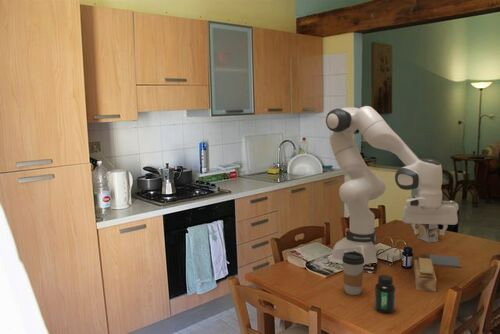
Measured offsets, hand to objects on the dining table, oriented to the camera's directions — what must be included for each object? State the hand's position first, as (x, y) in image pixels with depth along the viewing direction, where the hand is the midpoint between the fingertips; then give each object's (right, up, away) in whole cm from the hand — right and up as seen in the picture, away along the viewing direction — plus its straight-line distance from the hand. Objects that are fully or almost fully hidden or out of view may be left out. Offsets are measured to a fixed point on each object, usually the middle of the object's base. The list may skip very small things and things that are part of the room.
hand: (429, 234), depth 168 cm
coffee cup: (-31, -22, -3) cm, 38 cm away
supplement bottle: (-23, -24, -17) cm, 37 cm away
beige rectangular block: (-1, -15, +2) cm, 15 cm away
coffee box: (+22, -12, +55) cm, 60 cm away
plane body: (0, -20, +5) cm, 21 cm away
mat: (+17, -16, +25) cm, 34 cm away
